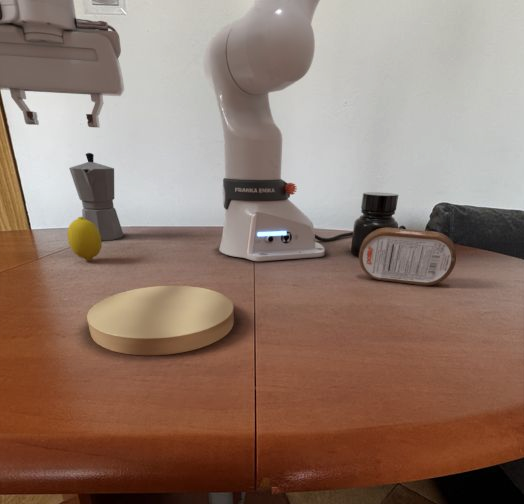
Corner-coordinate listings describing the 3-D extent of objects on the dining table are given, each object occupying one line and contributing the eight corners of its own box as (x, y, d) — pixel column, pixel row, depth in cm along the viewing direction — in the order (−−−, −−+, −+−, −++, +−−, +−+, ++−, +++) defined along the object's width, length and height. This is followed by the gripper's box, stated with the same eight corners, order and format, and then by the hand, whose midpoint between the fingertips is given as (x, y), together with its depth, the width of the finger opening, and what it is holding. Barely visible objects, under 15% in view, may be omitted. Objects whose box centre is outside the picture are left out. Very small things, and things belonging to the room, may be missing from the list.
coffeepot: (120, 242, 86) (107, 153, 78) (76, 243, 84) (58, 152, 76) (127, 230, 99) (117, 153, 91) (89, 230, 97) (75, 152, 89)
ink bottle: (393, 251, 83) (403, 192, 78) (396, 261, 76) (408, 197, 70) (348, 248, 85) (355, 191, 80) (347, 257, 78) (355, 194, 72)
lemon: (78, 257, 73) (70, 214, 70) (108, 257, 74) (100, 214, 70) (68, 265, 68) (58, 219, 65) (99, 265, 69) (91, 219, 65)
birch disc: (228, 297, 55) (227, 283, 54) (240, 350, 40) (240, 333, 39) (106, 301, 53) (104, 287, 52) (72, 360, 38) (67, 342, 37)
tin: (448, 284, 63) (461, 232, 59) (450, 290, 60) (464, 235, 56) (356, 274, 67) (363, 225, 63) (354, 279, 64) (361, 228, 60)
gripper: (121, 28, 59) (132, 129, 66) (-21, 17, 56) (5, 124, 63) (113, 15, 54) (126, 127, 60) (-45, 2, 51) (-14, 121, 57)
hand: (63, 126), depth 61 cm, fingers open, 8 cm apart
